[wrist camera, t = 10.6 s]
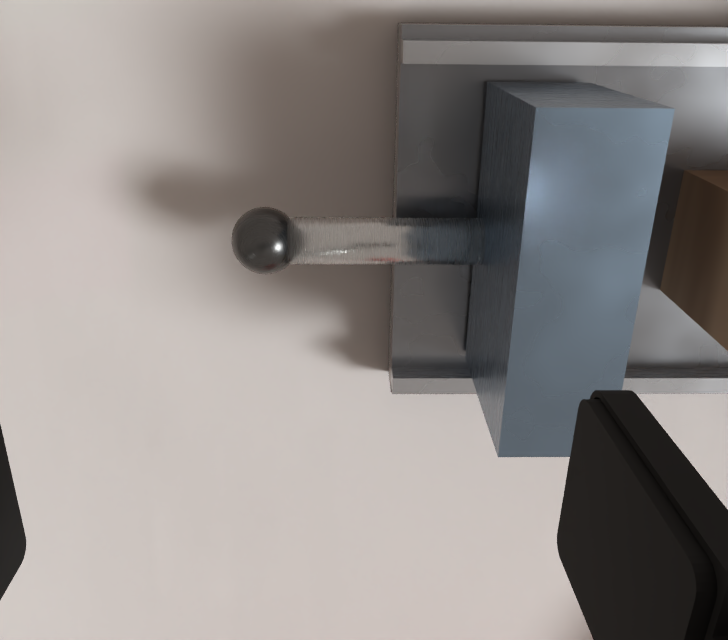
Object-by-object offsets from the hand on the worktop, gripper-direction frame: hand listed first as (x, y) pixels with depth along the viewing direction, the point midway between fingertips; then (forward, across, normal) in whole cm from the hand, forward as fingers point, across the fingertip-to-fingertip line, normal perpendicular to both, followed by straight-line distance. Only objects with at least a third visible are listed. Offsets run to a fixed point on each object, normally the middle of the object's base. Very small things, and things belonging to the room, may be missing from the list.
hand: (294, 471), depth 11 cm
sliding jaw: (+12, -3, 0) cm, 12 cm away
